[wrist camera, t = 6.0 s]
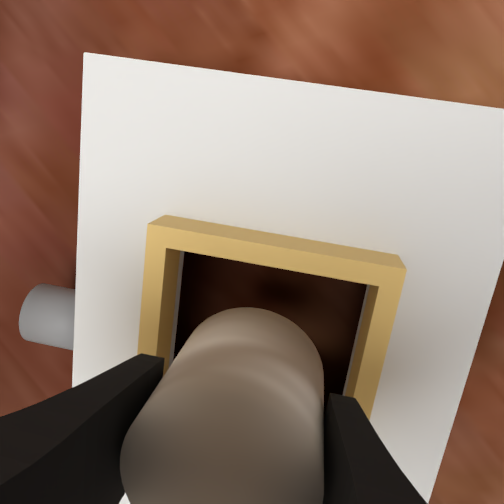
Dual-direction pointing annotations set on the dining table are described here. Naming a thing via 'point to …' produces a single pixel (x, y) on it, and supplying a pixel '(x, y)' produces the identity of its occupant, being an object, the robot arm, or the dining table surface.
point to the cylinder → (232, 418)
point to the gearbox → (287, 226)
